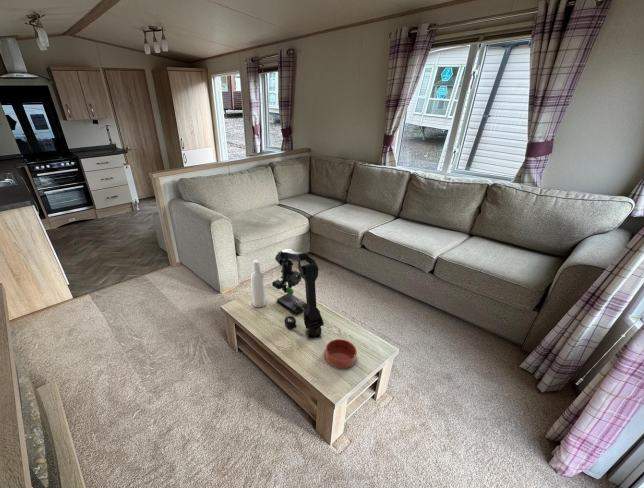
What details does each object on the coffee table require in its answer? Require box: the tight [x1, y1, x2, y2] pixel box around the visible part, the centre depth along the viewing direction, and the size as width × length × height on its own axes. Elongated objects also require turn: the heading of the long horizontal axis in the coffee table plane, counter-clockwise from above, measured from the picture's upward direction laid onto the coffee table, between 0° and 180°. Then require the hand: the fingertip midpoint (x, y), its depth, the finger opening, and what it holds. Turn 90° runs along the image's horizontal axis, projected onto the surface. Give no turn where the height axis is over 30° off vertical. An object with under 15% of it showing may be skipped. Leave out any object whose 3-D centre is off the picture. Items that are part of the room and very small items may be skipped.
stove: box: [276, 293, 307, 317], centre depth 180 cm, size 18×10×3 cm, turn 40°
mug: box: [283, 313, 302, 335], centre depth 161 cm, size 12×6×7 cm, turn 42°
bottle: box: [250, 259, 267, 308], centre depth 176 cm, size 8×8×30 cm
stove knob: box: [296, 298, 303, 308], centre depth 175 cm, size 4×4×4 cm
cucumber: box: [281, 285, 294, 295], centre depth 179 cm, size 4×9×4 cm, turn 40°
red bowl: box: [325, 338, 358, 369], centre depth 144 cm, size 14×14×5 cm
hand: (287, 291), depth 180 cm, fingers closed on cucumber, 3 cm apart
